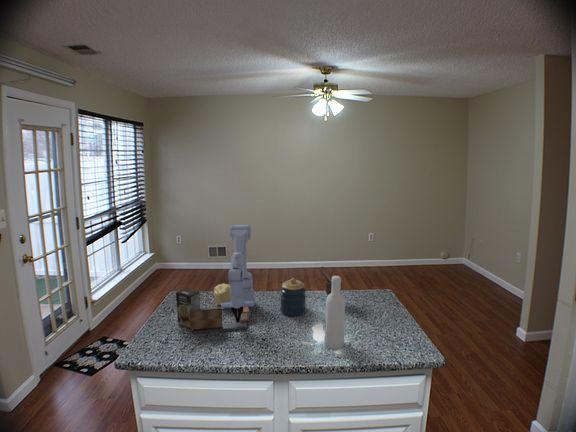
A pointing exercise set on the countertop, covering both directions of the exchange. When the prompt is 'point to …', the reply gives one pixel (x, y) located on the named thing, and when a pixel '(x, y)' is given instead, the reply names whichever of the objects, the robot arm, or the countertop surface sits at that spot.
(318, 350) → the countertop surface
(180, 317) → the coffee box
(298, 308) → the canister
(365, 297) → the countertop surface
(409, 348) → the countertop surface
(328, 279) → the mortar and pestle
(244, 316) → the cube
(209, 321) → the panel
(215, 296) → the sculpture
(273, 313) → the countertop surface
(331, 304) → the bottle
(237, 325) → the rail
